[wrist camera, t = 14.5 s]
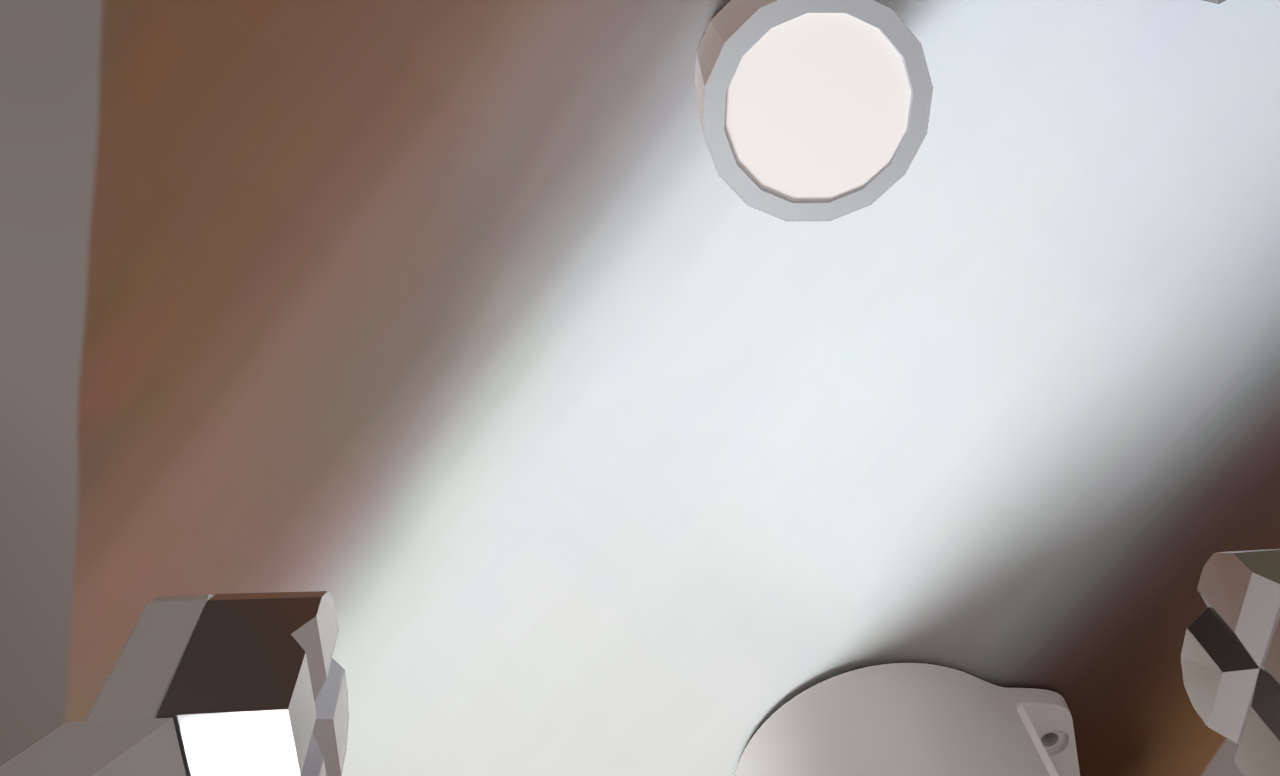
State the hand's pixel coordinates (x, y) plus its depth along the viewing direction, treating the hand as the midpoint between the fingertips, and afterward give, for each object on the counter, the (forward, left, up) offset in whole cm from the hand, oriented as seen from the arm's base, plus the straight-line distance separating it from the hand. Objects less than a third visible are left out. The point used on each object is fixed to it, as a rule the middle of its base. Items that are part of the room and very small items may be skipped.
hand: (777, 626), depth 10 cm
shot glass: (-3, -5, -31) cm, 32 cm away
